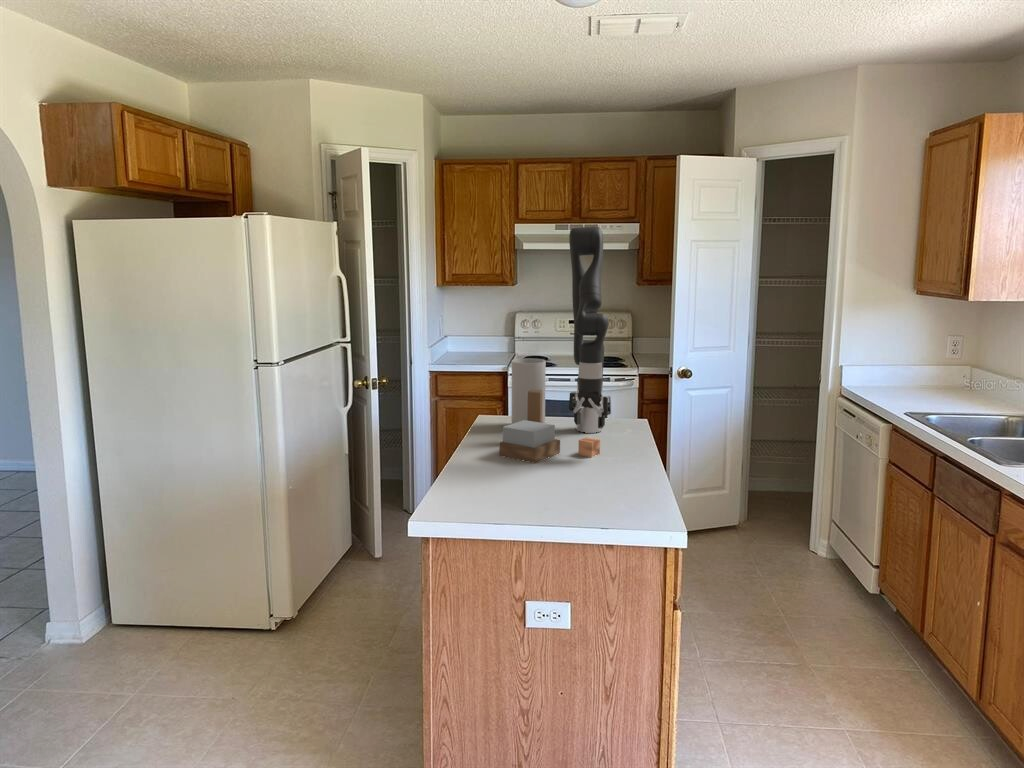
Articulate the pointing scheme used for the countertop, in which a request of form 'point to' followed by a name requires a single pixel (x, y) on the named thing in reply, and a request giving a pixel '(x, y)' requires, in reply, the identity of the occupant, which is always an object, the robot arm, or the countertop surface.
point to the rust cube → (589, 447)
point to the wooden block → (535, 406)
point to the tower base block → (529, 451)
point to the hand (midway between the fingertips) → (589, 426)
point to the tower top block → (528, 433)
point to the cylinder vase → (526, 385)
